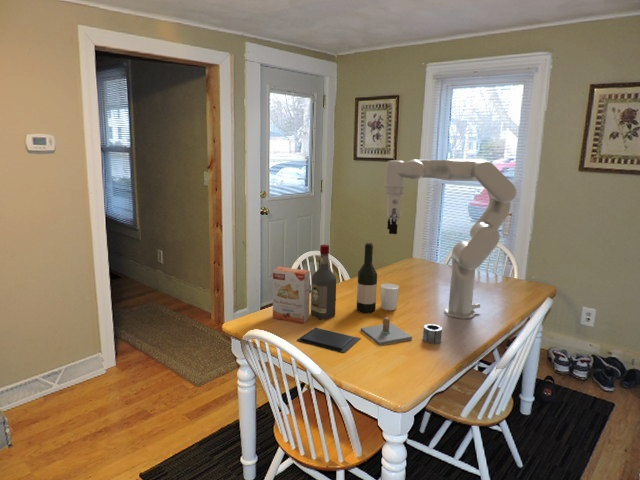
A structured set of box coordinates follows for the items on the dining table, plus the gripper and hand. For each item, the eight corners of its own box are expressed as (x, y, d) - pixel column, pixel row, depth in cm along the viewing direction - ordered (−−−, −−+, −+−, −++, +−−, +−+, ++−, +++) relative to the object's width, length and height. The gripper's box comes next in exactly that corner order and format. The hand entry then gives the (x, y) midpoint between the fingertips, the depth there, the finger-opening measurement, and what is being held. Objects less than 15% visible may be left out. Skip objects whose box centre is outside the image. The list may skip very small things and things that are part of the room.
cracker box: (272, 318, 194) (272, 269, 189) (278, 313, 199) (278, 265, 195) (303, 324, 189) (304, 273, 184) (309, 319, 194) (310, 269, 190)
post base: (391, 325, 189) (392, 310, 188) (411, 339, 177) (412, 322, 175) (360, 330, 184) (361, 314, 182) (379, 345, 171) (380, 328, 170)
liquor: (323, 309, 205) (324, 242, 198) (338, 315, 199) (340, 246, 192) (307, 314, 199) (308, 245, 192) (322, 321, 192) (324, 249, 186)
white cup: (397, 311, 205) (398, 289, 203) (379, 310, 206) (380, 288, 204) (398, 305, 212) (399, 284, 210) (380, 304, 214) (381, 282, 212)
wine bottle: (362, 314, 200) (366, 245, 194) (352, 308, 207) (355, 241, 201) (379, 311, 204) (382, 244, 198) (368, 305, 211) (371, 240, 205)
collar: (433, 335, 181) (434, 323, 180) (444, 342, 175) (445, 329, 174) (419, 337, 178) (420, 325, 177) (430, 344, 173) (431, 331, 172)
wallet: (294, 337, 173) (316, 324, 186) (294, 342, 173) (316, 328, 186) (343, 350, 163) (362, 335, 176) (343, 356, 164) (362, 340, 177)
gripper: (405, 193, 186) (403, 236, 190) (401, 188, 203) (399, 228, 207) (386, 192, 187) (384, 235, 190) (383, 188, 204) (381, 227, 207)
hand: (391, 231), depth 199 cm, fingers open, 9 cm apart
